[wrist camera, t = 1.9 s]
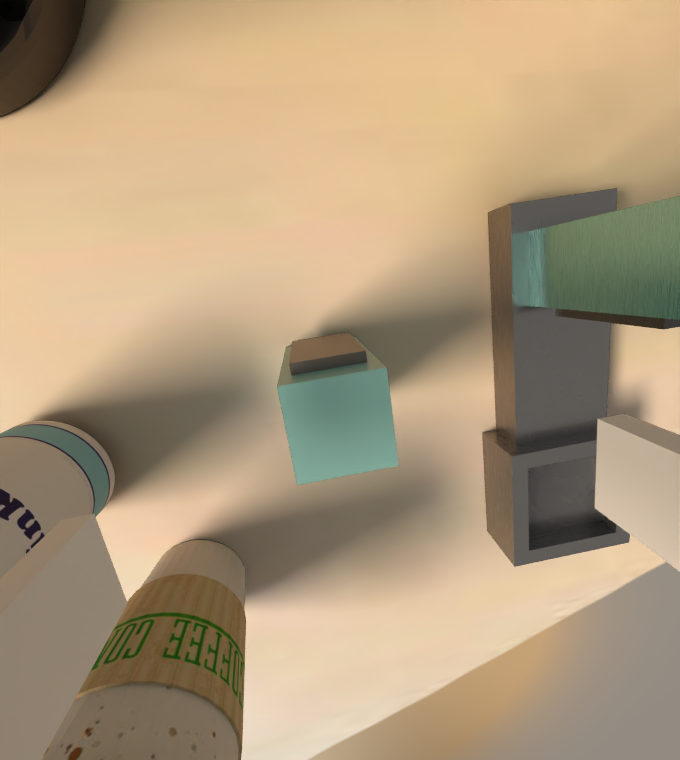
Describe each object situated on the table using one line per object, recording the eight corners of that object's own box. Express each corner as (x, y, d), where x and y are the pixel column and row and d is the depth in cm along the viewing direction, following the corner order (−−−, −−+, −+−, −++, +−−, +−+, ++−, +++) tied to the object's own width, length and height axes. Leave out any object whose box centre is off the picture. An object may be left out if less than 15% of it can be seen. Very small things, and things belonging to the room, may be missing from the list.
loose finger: (284, 338, 22) (274, 373, 13) (352, 327, 22) (385, 354, 14) (298, 410, 23) (297, 484, 15) (362, 399, 24) (398, 465, 15)
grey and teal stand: (471, 214, 21) (651, 141, 10) (599, 196, 22) (898, 107, 11) (487, 530, 27) (613, 696, 16) (588, 510, 28) (776, 657, 17)
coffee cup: (255, 503, 25) (193, 810, 10) (283, 617, 27) (265, 989, 13) (107, 532, 24) (-182, 902, 10) (150, 645, 27) (-27, 1070, 12)
